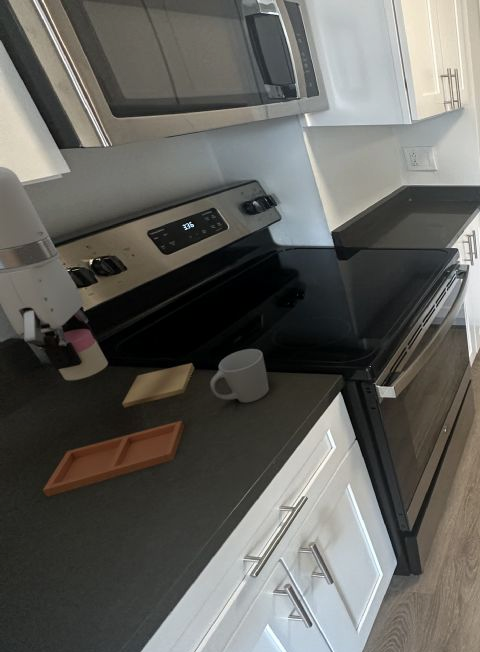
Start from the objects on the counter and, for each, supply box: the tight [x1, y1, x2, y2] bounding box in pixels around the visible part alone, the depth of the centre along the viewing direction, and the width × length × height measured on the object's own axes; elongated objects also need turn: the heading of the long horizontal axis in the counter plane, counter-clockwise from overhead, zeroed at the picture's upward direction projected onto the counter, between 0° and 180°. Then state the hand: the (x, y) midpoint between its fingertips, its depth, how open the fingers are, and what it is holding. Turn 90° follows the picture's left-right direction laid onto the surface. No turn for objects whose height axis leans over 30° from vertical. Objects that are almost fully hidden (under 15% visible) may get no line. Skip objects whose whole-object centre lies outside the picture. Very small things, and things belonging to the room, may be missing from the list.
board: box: [122, 362, 195, 408], centre depth 90 cm, size 10×10×2 cm
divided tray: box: [42, 420, 185, 498], centre depth 72 cm, size 16×9×2 cm, turn 115°
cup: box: [210, 348, 270, 403], centre depth 85 cm, size 8×10×8 cm
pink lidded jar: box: [53, 329, 109, 381], centre depth 71 cm, size 6×6×6 cm
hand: (77, 355), depth 71 cm, fingers closed on pink lidded jar, 5 cm apart
